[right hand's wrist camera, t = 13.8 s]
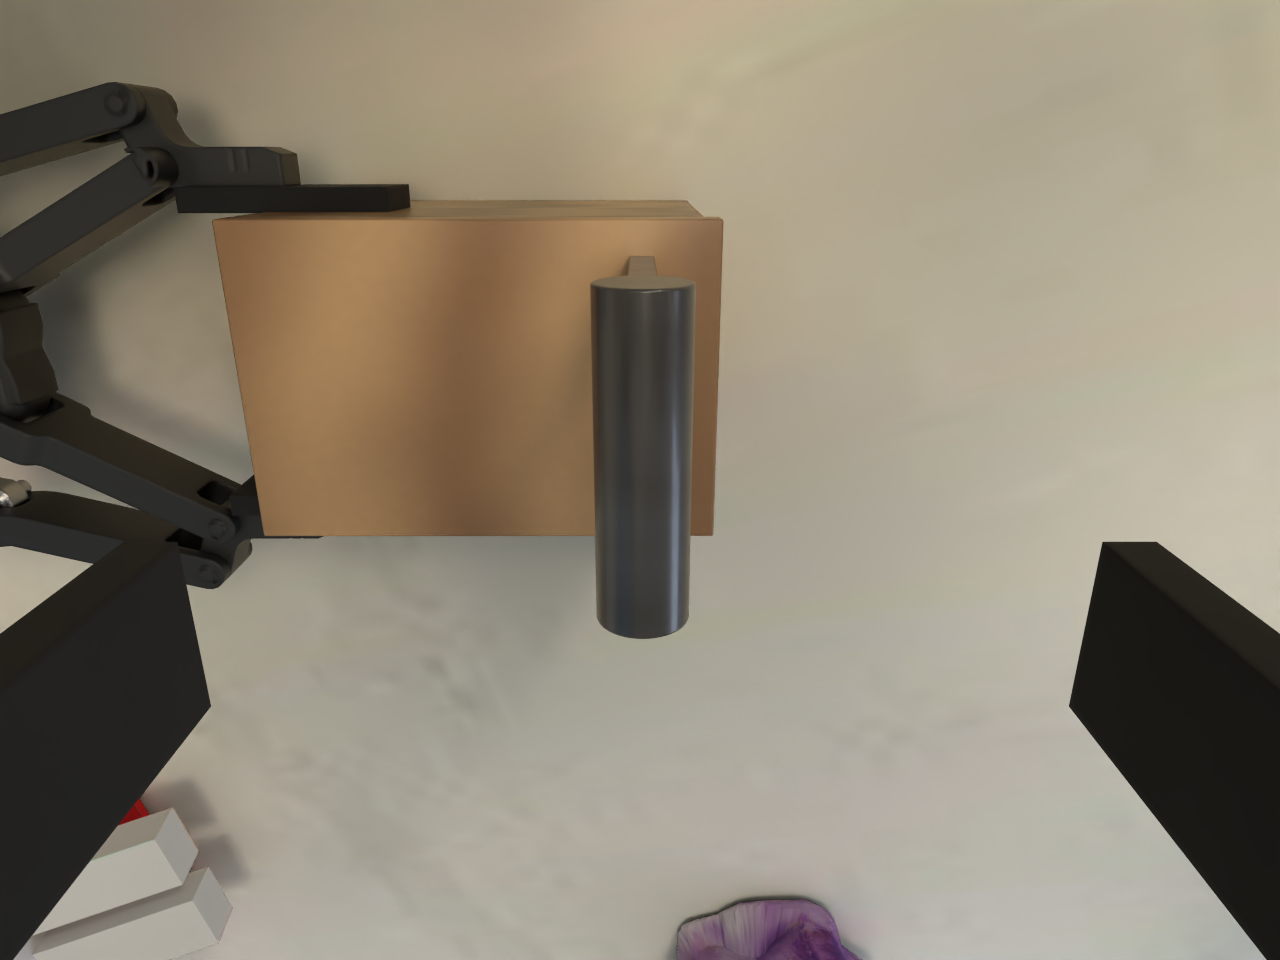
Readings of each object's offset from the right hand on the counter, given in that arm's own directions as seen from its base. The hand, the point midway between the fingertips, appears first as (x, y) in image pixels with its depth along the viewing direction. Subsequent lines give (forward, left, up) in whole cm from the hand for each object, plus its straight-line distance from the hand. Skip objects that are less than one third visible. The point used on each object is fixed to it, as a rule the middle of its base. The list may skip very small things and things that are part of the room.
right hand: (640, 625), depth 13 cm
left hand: (+4, -6, -18) cm, 20 cm away
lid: (+3, -4, -15) cm, 15 cm away
